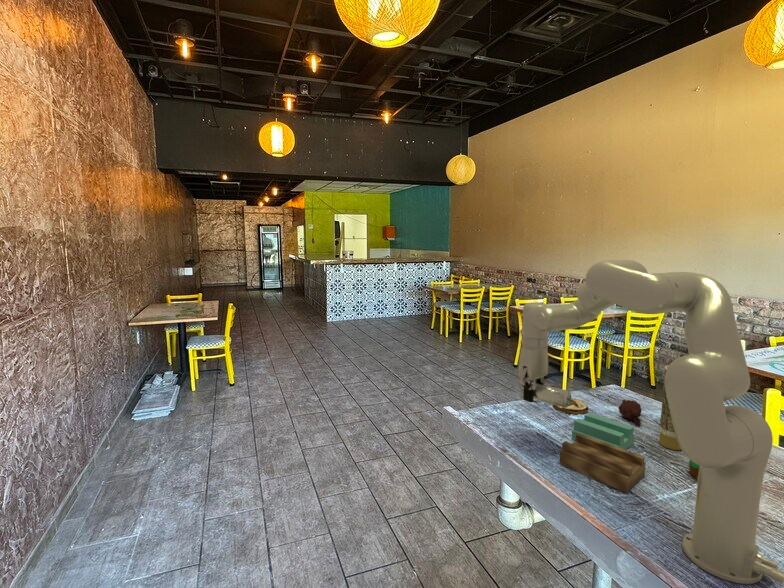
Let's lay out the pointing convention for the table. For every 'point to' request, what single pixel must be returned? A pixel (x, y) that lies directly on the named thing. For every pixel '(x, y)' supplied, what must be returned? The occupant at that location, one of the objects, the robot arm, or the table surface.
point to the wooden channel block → (603, 462)
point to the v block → (604, 430)
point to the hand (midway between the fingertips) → (533, 398)
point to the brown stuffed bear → (631, 410)
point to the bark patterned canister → (667, 424)
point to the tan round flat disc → (573, 407)
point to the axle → (550, 395)
